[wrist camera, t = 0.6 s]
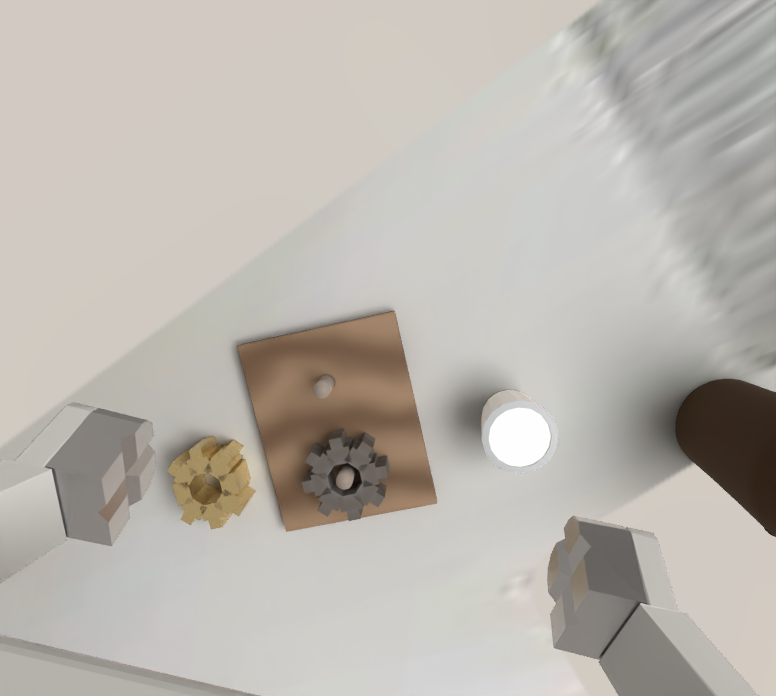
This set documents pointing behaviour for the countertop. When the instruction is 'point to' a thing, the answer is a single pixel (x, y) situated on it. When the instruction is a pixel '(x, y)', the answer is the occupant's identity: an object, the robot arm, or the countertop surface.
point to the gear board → (339, 421)
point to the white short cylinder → (517, 432)
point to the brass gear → (201, 495)
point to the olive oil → (734, 442)
